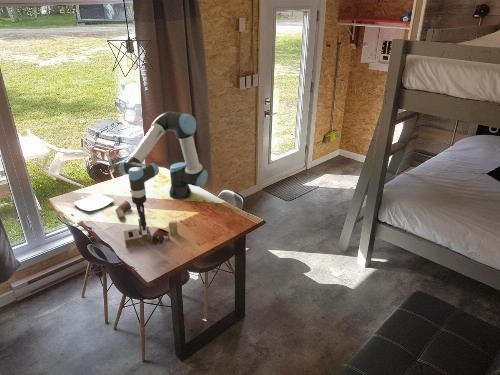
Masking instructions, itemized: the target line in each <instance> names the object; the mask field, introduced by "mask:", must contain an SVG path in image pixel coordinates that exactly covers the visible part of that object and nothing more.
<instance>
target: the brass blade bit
mask: <svg viewBox="0 0 500 375" xmlns="http://www.w3.org/2000/svg"><path fill="white" fill-rule="evenodd" d="M168 229H169V230H168V232H169V236H172V235H176V234H177V235H178V234H179V232H178V221H177V220H171V221H168Z"/></svg>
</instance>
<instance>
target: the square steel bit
mask: <svg viewBox="0 0 500 375" xmlns="http://www.w3.org/2000/svg"><path fill="white" fill-rule="evenodd" d="M137 221H138V227H139V229H140V235H142V229H141V226H140V225H141V220H140V216H138V215H137Z"/></svg>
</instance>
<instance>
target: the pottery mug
mask: <svg viewBox="0 0 500 375" xmlns="http://www.w3.org/2000/svg"><path fill="white" fill-rule="evenodd" d="M165 237H168V239H167V240H168V241H170V231H169V230H166V229H163V228H156V230H155V231H154V233H153V234H152V237H151V238H152V243H151V244H153V245H155V246H158V245H162V244H163V242H164V240H165Z"/></svg>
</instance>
